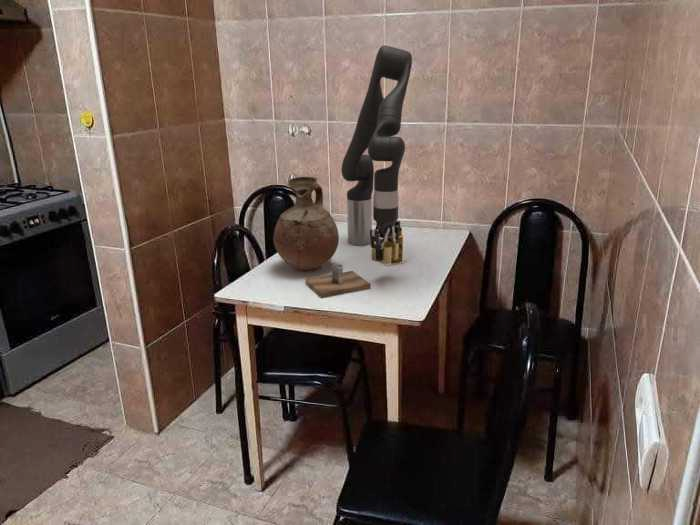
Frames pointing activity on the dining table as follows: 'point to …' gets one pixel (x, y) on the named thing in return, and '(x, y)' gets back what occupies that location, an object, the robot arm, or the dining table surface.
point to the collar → (387, 252)
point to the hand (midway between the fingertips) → (385, 257)
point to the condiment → (400, 252)
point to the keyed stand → (337, 282)
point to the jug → (306, 228)
